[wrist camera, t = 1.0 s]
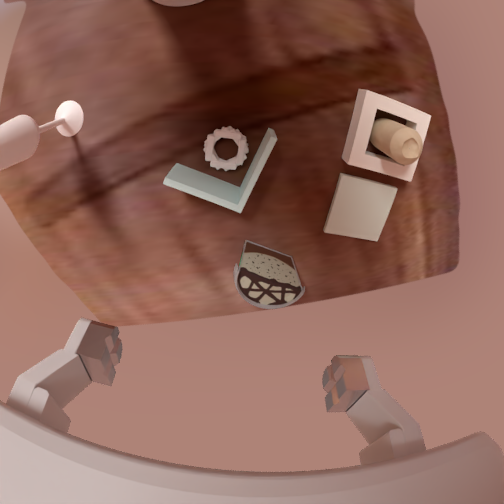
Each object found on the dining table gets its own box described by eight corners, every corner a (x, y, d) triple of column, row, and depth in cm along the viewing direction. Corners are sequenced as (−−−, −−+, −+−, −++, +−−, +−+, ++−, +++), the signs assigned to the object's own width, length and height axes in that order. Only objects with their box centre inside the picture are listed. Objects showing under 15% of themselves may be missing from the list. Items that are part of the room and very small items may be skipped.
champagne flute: (82, 137, 40) (-15, 195, 21) (53, 135, 40) (-42, 189, 20) (85, 100, 37) (-20, 137, 17) (56, 100, 36) (-47, 138, 16)
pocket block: (358, 88, 37) (366, 89, 34) (420, 112, 38) (431, 115, 35) (341, 157, 43) (347, 164, 40) (401, 174, 44) (410, 182, 41)
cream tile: (340, 172, 45) (342, 174, 44) (395, 186, 46) (397, 188, 45) (323, 229, 51) (324, 232, 50) (375, 238, 52) (377, 241, 51)
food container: (226, 262, 55) (221, 298, 47) (238, 236, 52) (235, 271, 43) (284, 282, 58) (289, 318, 49) (298, 259, 54) (306, 294, 46)
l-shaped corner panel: (273, 129, 42) (277, 139, 35) (242, 193, 48) (240, 213, 42) (201, 100, 39) (191, 104, 33) (175, 167, 45) (162, 183, 39)
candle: (403, 134, 40) (434, 150, 32) (382, 155, 43) (409, 176, 34) (383, 110, 38) (413, 121, 30) (361, 132, 41) (387, 148, 32)
